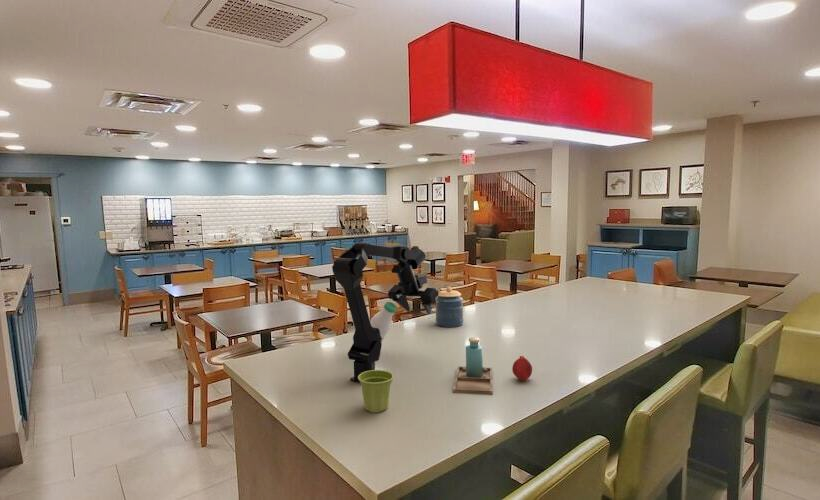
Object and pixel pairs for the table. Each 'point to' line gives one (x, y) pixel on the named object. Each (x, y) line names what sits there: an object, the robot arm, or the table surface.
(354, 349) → the robot arm
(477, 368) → the bottle
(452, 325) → the canister
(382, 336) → the milk bottle
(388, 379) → the plant pot
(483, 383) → the double tray
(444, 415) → the table surface
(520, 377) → the onion
